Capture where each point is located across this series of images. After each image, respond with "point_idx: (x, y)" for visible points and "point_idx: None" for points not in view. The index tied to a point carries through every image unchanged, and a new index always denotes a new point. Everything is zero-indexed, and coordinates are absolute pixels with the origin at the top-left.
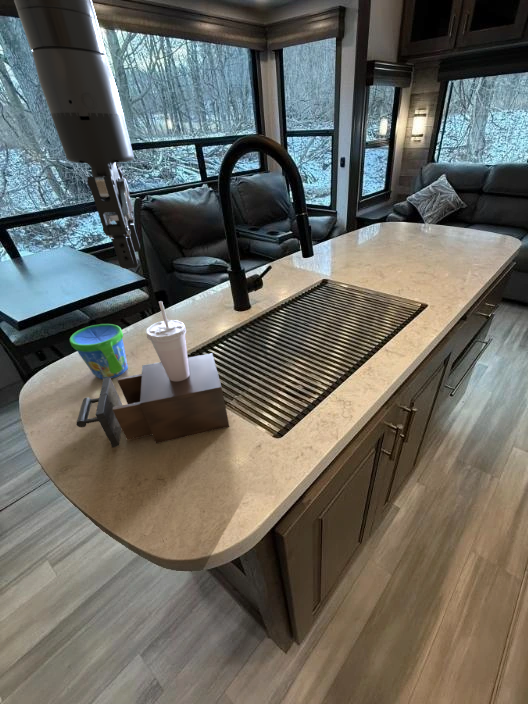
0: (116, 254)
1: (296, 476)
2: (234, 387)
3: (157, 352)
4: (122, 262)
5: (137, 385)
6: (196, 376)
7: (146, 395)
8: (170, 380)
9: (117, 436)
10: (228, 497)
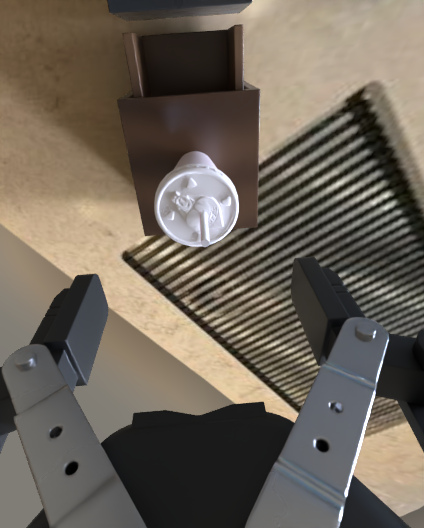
0: (65, 300)
1: (58, 263)
2: None
3: (177, 167)
4: (56, 297)
5: (232, 67)
6: None
7: (141, 111)
8: (183, 154)
9: (135, 19)
10: (27, 191)
